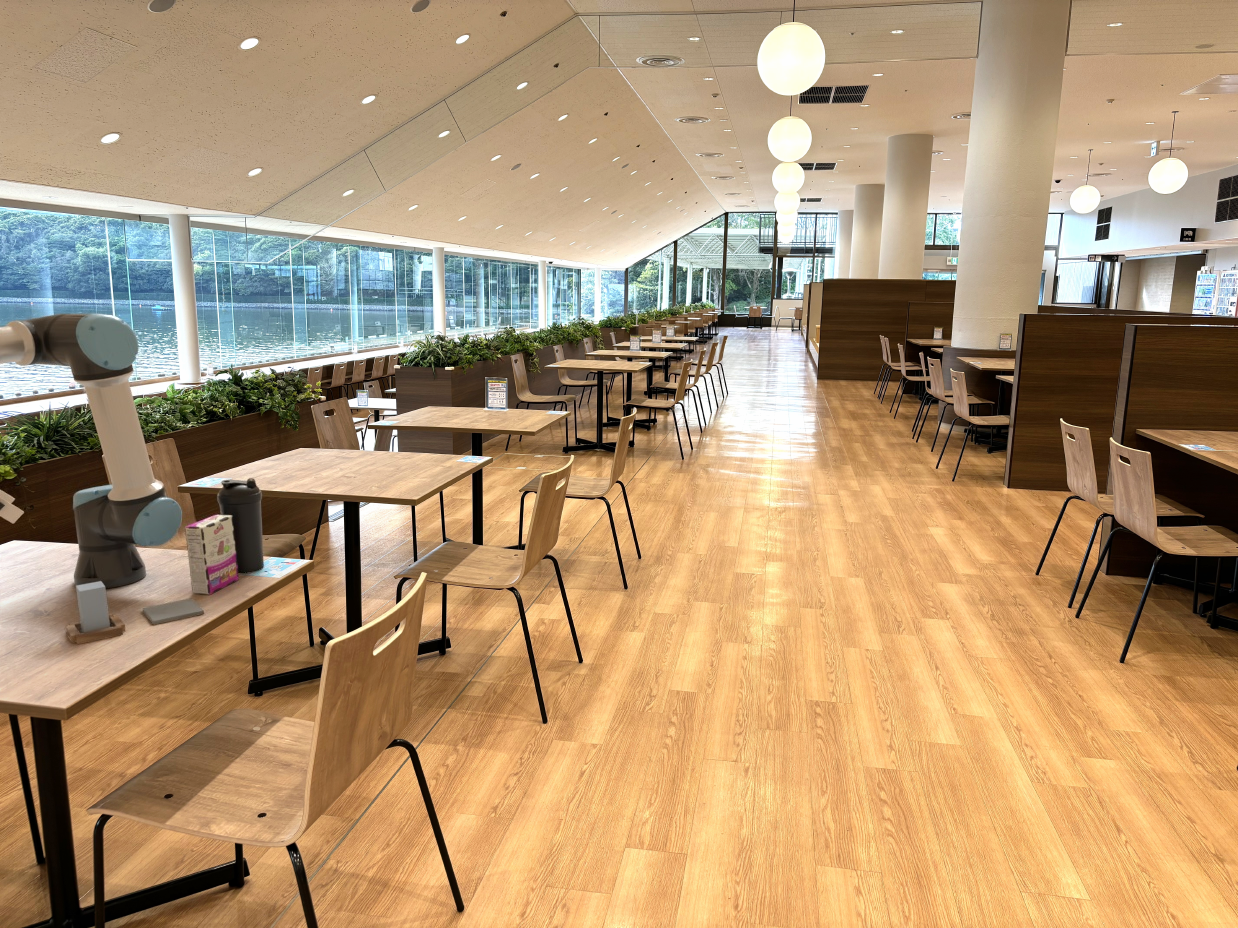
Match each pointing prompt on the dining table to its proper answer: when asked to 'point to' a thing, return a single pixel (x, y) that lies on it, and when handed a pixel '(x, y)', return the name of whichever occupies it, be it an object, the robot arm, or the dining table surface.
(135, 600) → the dining table surface
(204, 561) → the candy bar box
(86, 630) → the dusty blue painted block
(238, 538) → the water bottle
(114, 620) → the walnut pocket frame
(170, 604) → the grey rubber mat
